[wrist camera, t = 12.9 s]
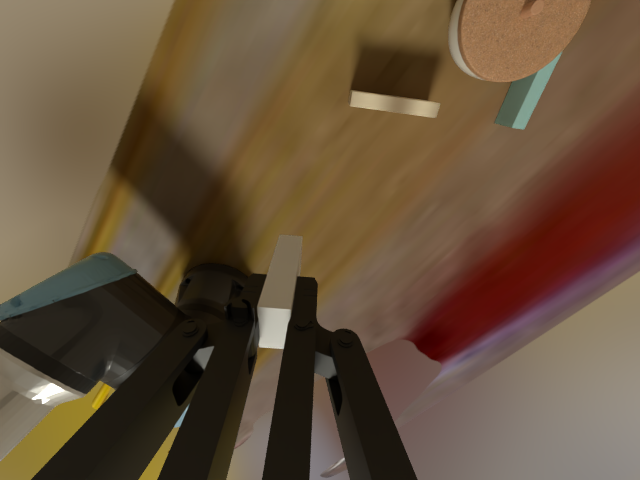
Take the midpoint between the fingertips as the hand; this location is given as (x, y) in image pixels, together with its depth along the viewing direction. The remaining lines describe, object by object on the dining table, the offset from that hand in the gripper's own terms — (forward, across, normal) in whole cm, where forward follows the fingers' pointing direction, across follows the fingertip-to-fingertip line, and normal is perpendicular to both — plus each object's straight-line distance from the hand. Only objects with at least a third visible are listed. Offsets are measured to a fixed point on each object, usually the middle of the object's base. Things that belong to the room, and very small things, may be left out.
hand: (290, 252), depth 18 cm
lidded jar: (+24, +19, +17) cm, 35 cm away
